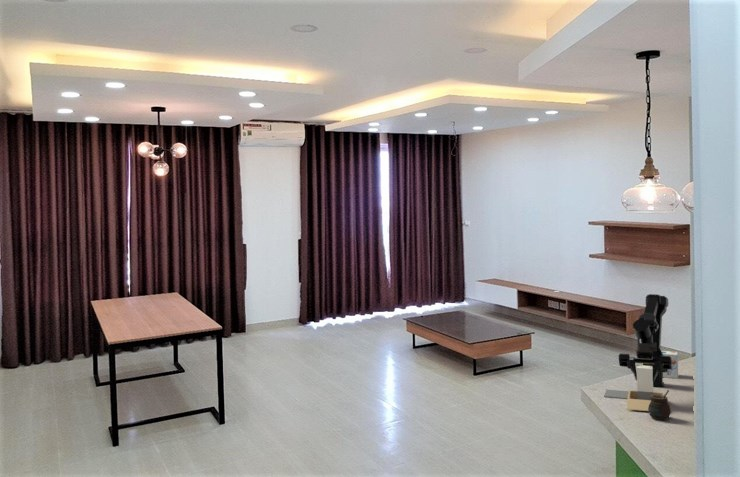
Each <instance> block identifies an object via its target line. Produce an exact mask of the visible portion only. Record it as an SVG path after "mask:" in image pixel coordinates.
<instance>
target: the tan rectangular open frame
mask: <svg viewBox="0 0 740 477" xmlns="http://www.w3.org/2000/svg"><path fill="white" fill-rule="evenodd" d="M628 391H629V393H628V398H627V399H626V409H627V410H629V411H630V410H631V411H640V412H642V411H643V412H649V411H648V407H649V404H650V402H651V400H646V399H637V390H636V389H635V390H634V389H632V390H631V389H629V390H628ZM653 395H664V393H663V392H658V391H653Z"/></svg>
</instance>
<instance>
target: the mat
mask: <svg viewBox="0 0 740 477" xmlns="http://www.w3.org/2000/svg"><path fill="white" fill-rule="evenodd" d="M628 393H629V390H616V389H615V390H614V389H605V392H604V396H603V397H604V398H613V399H621V400H622V399H623V400H627V398H628Z"/></svg>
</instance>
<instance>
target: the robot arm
mask: <svg viewBox="0 0 740 477" xmlns="http://www.w3.org/2000/svg"><path fill="white" fill-rule="evenodd" d="M667 307H669V298H668V297H667V296H665V295H660V294H656V293H655V294H652V293H650V294H647V295H646V296H645V307H644V311H643V313H642V314H640V315H639V316H638V319H636V320H635V321H633V323H632V328H633V331H634V335H635V337H636V354H635V355H636V356H635V357H634V356H632V355H631V356H630V353H619V354H618V364H619V365H618V366H620V367H624V368H627V369H630V370H631V372H632V374H633V376H634V379H635V381H637V365H636V364H642V365H645V366H653V387H656V388H657V387H661V388H663V387H664V386H665V382H664V380H663V378H664V377H663V372H664V373H665V372H668V369H672V363H671V357H670V356H664V355H663V353H662V351H663V350H661V343H662V323H663V316H664V315H665V314H666V312H667Z"/></svg>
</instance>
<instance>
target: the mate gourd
mask: <svg viewBox="0 0 740 477" xmlns="http://www.w3.org/2000/svg"><path fill="white" fill-rule="evenodd" d="M669 392H670V390H669V389H667V391H666V392H665V393H664V394H663V395H651V402H650V404H649V407H648V411H647V412H648V414H649V417H651V418H652V419H653V420H656V421H666V420H667V419H670V416H671V412H672V410H671V408H670V404H669V402H668V396H667V395H668V394H669Z"/></svg>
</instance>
